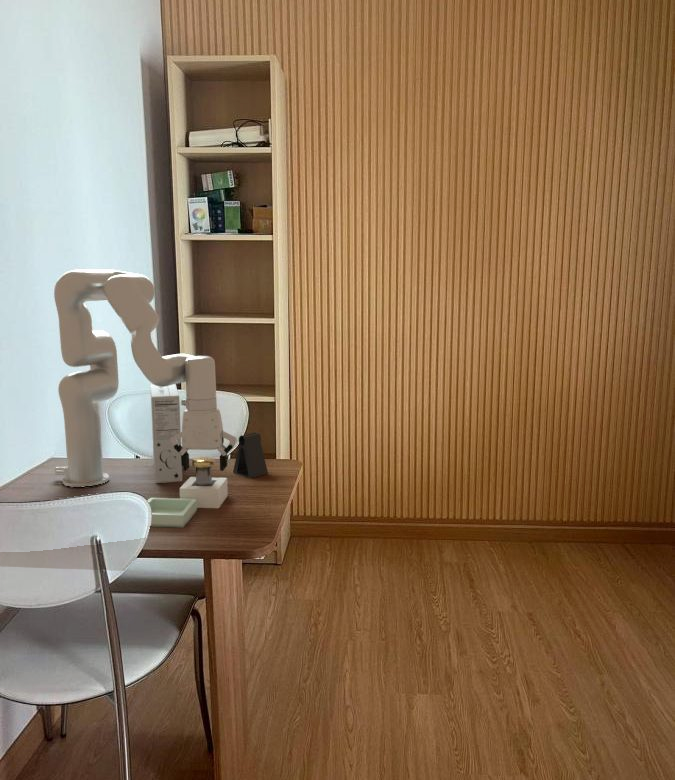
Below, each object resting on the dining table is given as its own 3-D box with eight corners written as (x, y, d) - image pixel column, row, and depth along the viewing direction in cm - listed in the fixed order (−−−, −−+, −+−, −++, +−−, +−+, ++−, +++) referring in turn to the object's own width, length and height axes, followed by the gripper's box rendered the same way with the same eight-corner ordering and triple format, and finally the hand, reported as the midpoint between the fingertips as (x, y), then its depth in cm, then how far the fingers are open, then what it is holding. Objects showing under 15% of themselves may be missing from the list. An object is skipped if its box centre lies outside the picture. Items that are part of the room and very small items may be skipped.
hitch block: (180, 507, 185) (179, 488, 184) (191, 494, 195) (190, 476, 194) (218, 508, 184) (218, 489, 183) (227, 495, 194) (227, 477, 193)
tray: (134, 526, 172) (133, 513, 171) (150, 509, 184) (150, 497, 183) (183, 527, 171) (183, 515, 170) (197, 510, 183) (196, 499, 182)
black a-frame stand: (232, 472, 215) (231, 433, 213) (248, 468, 220) (247, 430, 218) (252, 478, 209) (251, 438, 207) (268, 474, 214) (267, 434, 211)
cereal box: (153, 463, 225) (150, 384, 221) (178, 461, 227) (175, 383, 223) (155, 483, 205) (151, 396, 200) (182, 481, 207) (179, 395, 202)
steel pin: (191, 504, 187) (189, 462, 185) (196, 497, 192) (195, 456, 190) (212, 505, 186) (211, 463, 185) (217, 498, 192) (216, 457, 190)
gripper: (164, 407, 182) (167, 473, 185) (231, 407, 181) (234, 473, 183) (173, 401, 189) (176, 465, 192) (238, 401, 188) (240, 465, 191)
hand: (204, 469), depth 188 cm, fingers open, 9 cm apart
